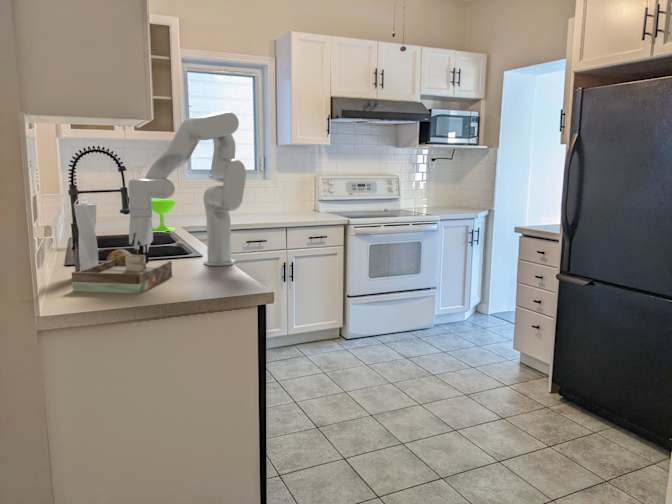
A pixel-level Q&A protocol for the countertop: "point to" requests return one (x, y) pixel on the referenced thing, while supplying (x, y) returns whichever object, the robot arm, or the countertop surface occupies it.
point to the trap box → (119, 278)
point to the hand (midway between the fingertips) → (143, 263)
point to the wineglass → (162, 211)
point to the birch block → (135, 262)
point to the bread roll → (118, 257)
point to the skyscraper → (86, 235)
